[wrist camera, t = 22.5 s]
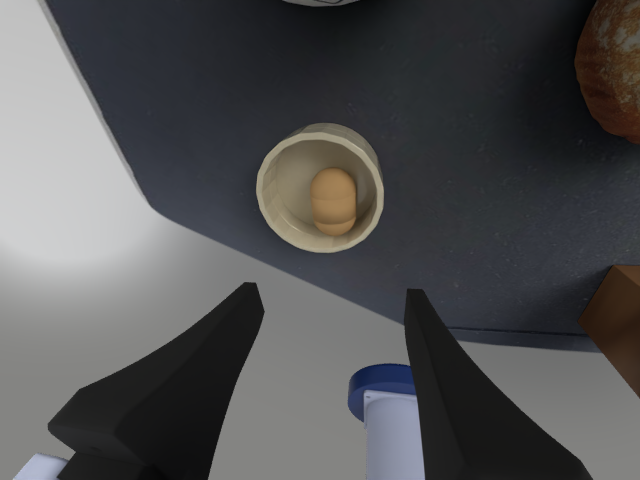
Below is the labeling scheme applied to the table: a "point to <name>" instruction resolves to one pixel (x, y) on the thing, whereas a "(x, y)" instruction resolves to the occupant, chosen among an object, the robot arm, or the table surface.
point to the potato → (333, 201)
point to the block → (617, 321)
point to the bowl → (297, 174)
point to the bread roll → (612, 66)
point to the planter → (320, 2)
